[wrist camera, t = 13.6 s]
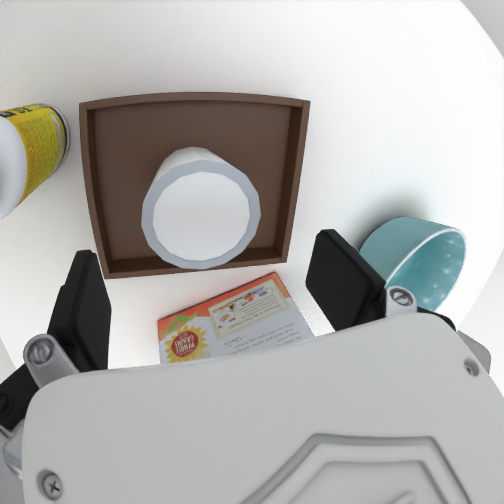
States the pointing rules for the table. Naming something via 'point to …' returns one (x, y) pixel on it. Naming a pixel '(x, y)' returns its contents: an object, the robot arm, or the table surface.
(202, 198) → the white cylinder
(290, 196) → the tray
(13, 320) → the table surface
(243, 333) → the cracker box
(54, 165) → the pill bottle
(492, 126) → the table surface
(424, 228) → the bowl
